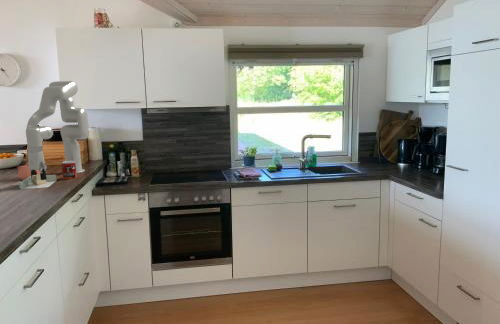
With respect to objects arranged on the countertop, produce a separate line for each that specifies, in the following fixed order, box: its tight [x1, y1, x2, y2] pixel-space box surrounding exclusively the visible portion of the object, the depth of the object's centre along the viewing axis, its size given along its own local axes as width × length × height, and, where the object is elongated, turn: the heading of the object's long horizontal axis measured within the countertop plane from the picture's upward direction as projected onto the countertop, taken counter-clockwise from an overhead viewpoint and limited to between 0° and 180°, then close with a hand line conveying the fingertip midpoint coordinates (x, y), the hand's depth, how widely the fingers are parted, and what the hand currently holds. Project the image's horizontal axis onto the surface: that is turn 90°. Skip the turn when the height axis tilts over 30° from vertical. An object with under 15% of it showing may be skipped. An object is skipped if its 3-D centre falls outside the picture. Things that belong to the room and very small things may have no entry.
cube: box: [32, 174, 46, 185], centre depth 237 cm, size 5×5×5 cm
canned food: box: [61, 160, 78, 180], centre depth 251 cm, size 8×8×11 cm
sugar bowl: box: [17, 162, 41, 181], centre depth 255 cm, size 12×14×10 cm
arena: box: [18, 174, 57, 190], centre depth 235 cm, size 18×14×4 cm
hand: (39, 179), depth 237 cm, fingers open, 9 cm apart
